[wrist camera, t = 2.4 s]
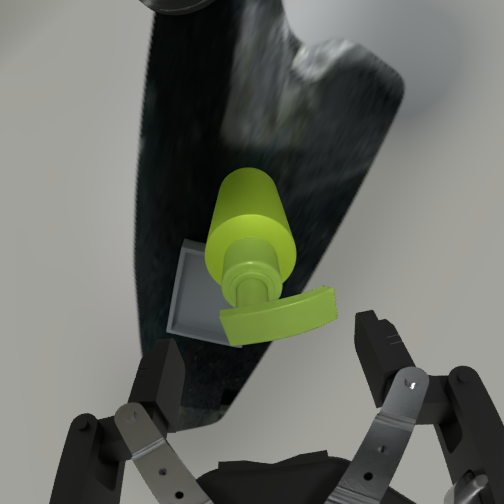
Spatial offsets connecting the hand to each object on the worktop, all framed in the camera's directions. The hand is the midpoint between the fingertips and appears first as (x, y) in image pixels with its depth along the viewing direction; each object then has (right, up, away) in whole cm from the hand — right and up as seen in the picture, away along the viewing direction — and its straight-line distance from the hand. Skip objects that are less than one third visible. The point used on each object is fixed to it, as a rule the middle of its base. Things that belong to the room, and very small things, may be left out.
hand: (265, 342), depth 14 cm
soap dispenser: (0, +10, +19) cm, 21 cm away
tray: (-5, -1, +24) cm, 25 cm away
